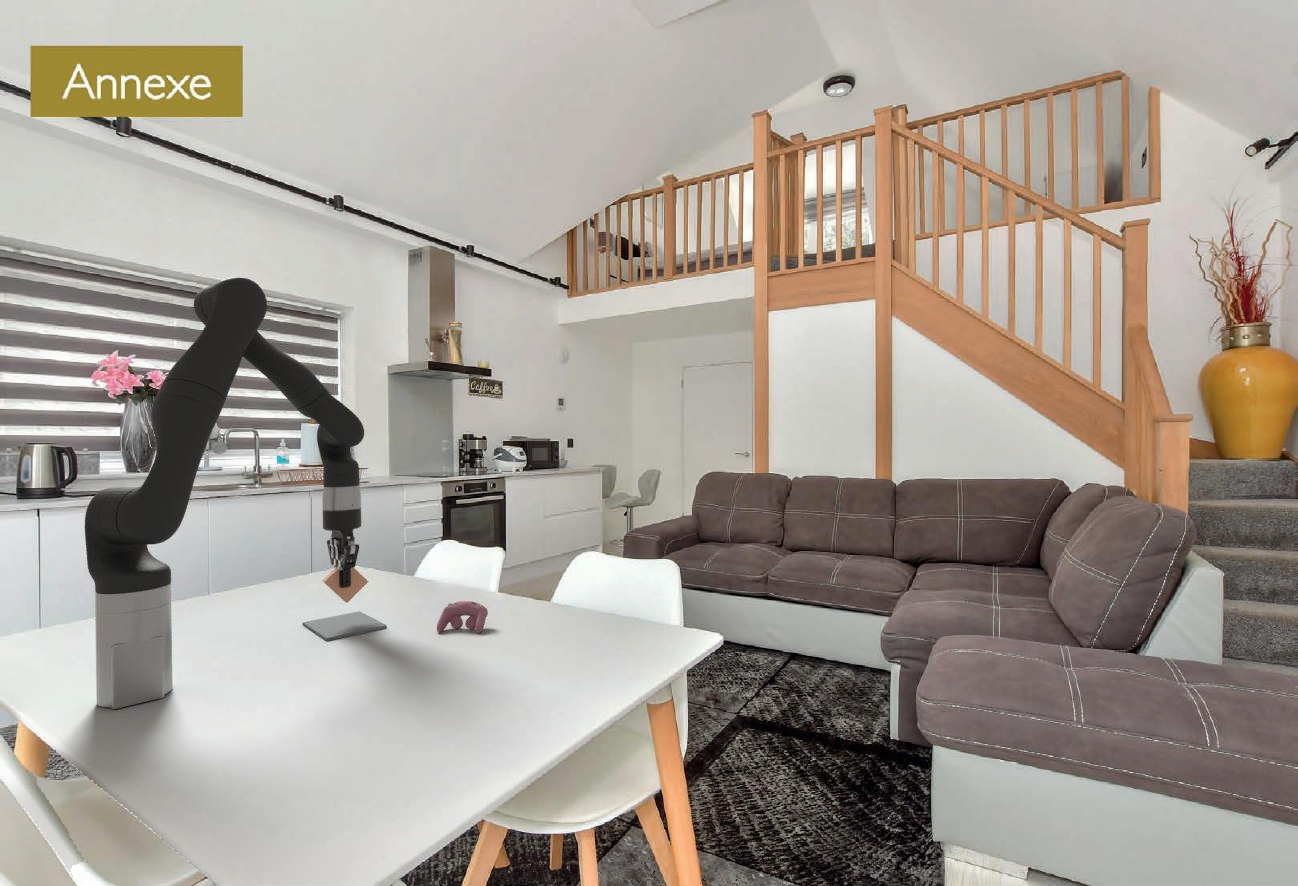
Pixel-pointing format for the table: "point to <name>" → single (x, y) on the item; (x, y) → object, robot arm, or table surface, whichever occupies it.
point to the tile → (347, 592)
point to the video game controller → (463, 609)
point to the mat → (343, 625)
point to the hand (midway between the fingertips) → (343, 586)
